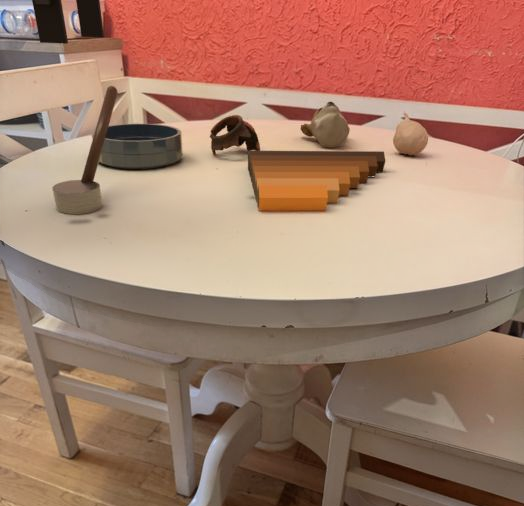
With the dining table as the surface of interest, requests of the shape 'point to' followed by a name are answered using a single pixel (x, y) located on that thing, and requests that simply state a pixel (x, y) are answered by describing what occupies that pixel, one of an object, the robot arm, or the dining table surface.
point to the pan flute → (308, 176)
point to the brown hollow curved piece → (234, 134)
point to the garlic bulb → (410, 137)
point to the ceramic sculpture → (327, 126)
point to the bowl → (141, 146)
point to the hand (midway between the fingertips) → (75, 40)
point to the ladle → (87, 169)
